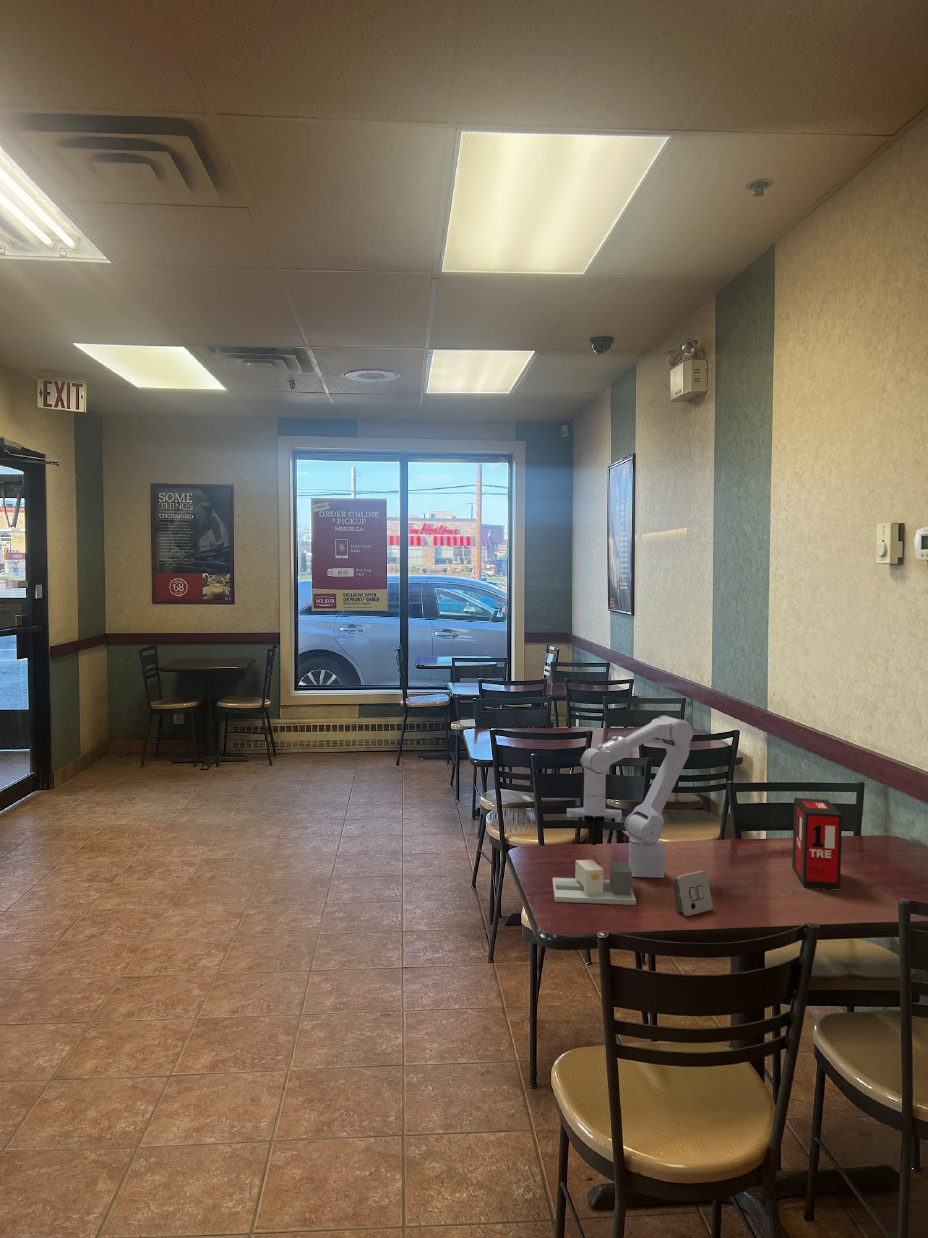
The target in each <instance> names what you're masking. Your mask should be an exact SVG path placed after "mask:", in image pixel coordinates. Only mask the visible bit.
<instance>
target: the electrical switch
mask: <svg viewBox="0 0 928 1238" xmlns="http://www.w3.org/2000/svg"><path fill="white" fill-rule="evenodd" d="M671 885H672V890H673V895H674V901H675V906H676V912H677V913H682V914H683V916H685V917H691V916H694V915H697V914H701V913H705V912H709V911H712V910H713V908H714V906H713V900H712V894H711V890H710V889H711V888H710V884H709V879H708V873H707V872H706V871H705V870H700V871H695V872H691V873H685V874H681V875H678V876H677V877H673V878H671Z"/></svg>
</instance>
